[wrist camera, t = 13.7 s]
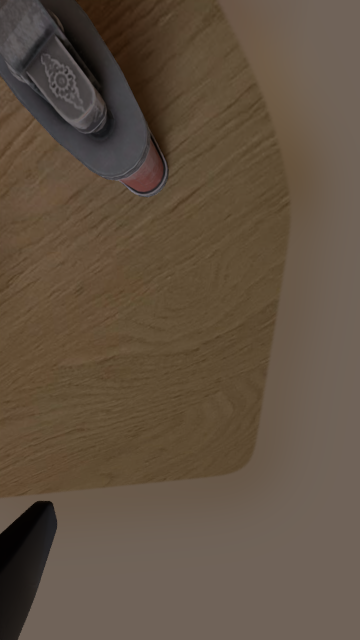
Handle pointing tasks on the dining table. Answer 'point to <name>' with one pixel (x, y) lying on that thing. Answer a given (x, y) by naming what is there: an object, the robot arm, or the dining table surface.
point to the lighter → (78, 91)
